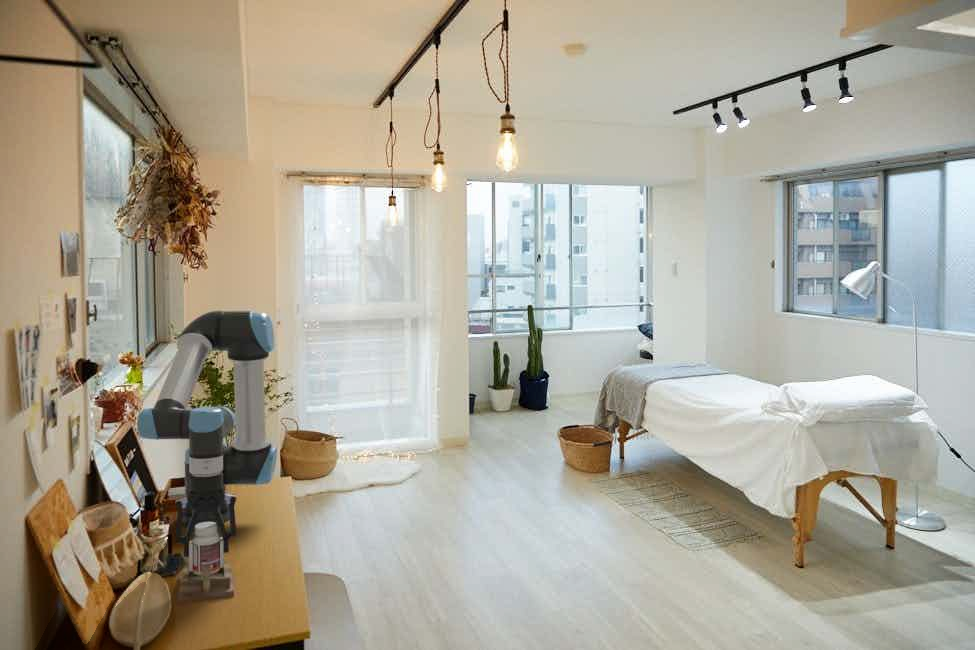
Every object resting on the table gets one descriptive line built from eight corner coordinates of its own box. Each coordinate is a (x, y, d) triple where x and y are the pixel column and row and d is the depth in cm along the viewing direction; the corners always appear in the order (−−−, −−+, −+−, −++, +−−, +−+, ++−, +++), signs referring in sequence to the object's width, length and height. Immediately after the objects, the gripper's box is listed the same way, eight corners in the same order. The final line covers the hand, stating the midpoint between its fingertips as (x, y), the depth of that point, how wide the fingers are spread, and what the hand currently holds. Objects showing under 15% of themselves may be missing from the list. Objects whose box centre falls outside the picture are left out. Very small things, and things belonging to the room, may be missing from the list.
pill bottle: (225, 567, 177) (225, 522, 176) (209, 577, 171) (209, 530, 170) (203, 564, 179) (202, 519, 178) (186, 574, 173) (186, 527, 172)
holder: (180, 578, 180) (180, 550, 179) (231, 572, 184) (231, 545, 184) (178, 603, 167) (178, 572, 166) (233, 596, 171) (233, 566, 170)
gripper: (161, 480, 166) (161, 578, 168) (249, 473, 173) (249, 568, 175) (163, 471, 173) (163, 566, 175) (247, 465, 180) (247, 557, 182)
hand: (206, 567), depth 175 cm, fingers closed on pill bottle, 6 cm apart
